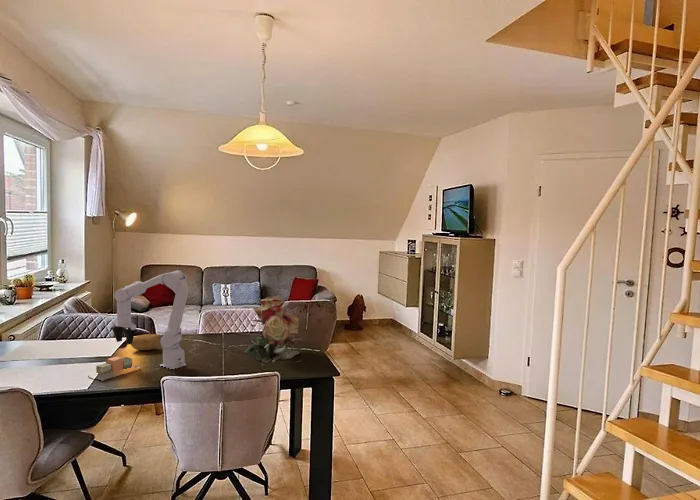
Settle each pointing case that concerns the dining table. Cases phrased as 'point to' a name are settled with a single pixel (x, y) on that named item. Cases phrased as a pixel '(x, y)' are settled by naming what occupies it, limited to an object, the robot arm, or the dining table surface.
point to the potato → (145, 342)
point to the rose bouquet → (274, 331)
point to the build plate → (106, 367)
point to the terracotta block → (115, 363)
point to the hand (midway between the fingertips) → (124, 342)
